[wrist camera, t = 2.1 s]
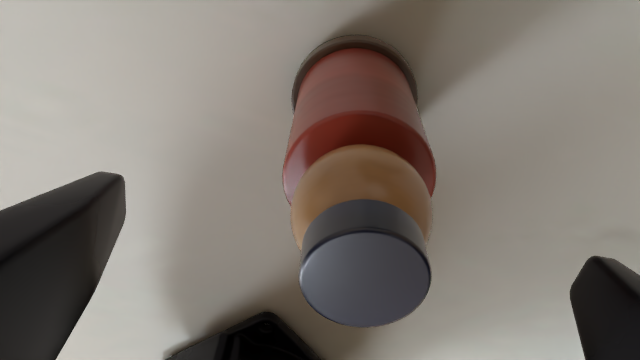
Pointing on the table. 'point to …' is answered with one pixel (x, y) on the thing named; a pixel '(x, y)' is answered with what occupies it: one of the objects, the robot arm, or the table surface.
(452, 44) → the table surface
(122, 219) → the robot arm
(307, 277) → the figure
